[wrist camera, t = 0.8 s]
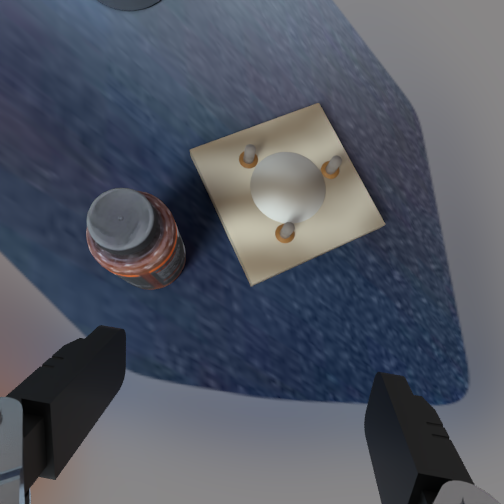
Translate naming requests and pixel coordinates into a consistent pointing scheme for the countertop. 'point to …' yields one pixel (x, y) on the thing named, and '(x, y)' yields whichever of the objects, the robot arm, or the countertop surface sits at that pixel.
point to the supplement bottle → (135, 238)
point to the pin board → (285, 192)
